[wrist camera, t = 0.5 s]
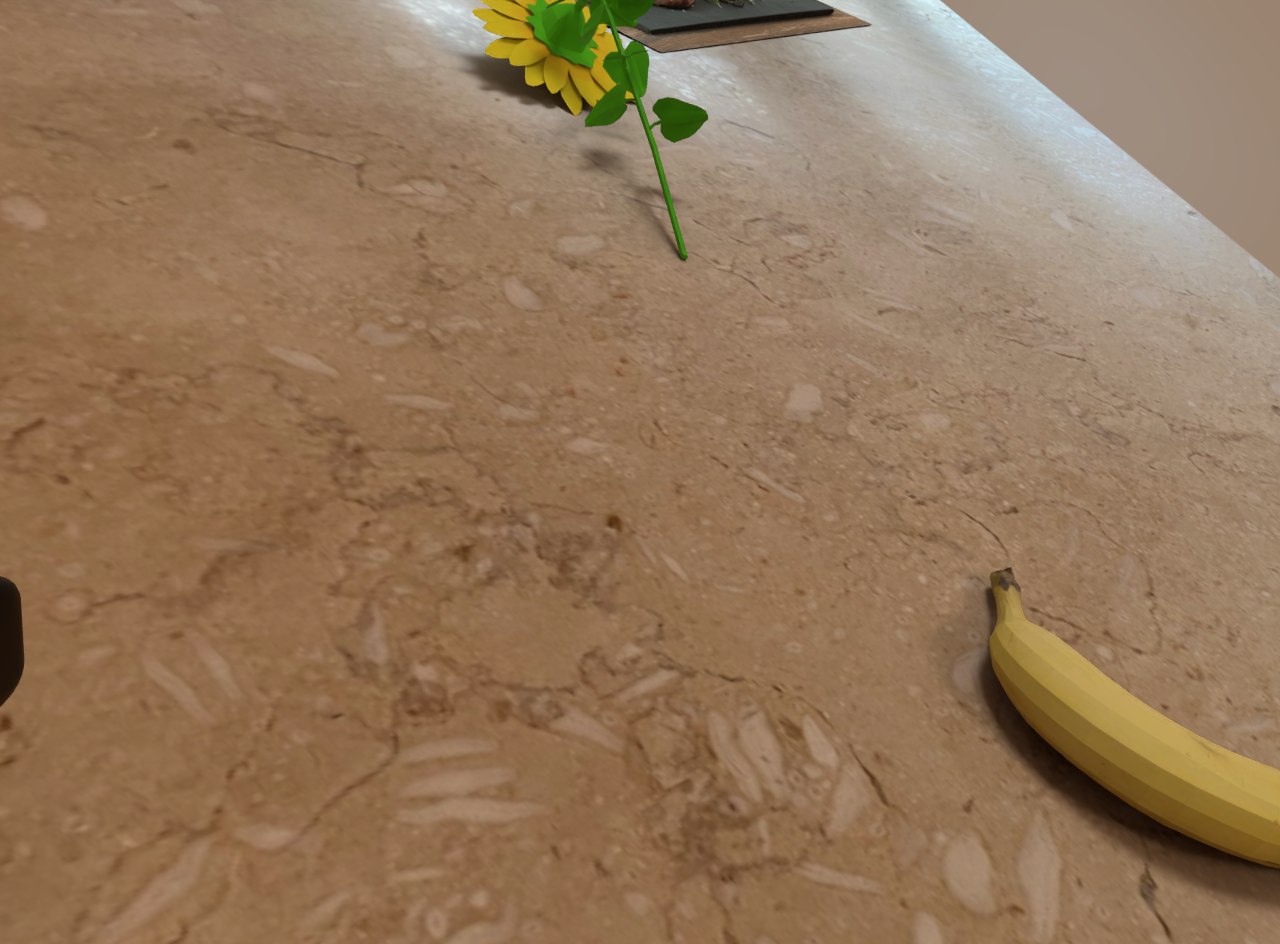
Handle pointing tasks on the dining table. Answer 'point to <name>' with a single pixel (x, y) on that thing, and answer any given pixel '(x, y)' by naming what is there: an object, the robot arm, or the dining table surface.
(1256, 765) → the fruit
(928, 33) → the dining table surface
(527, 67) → the flower
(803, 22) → the plated dish
